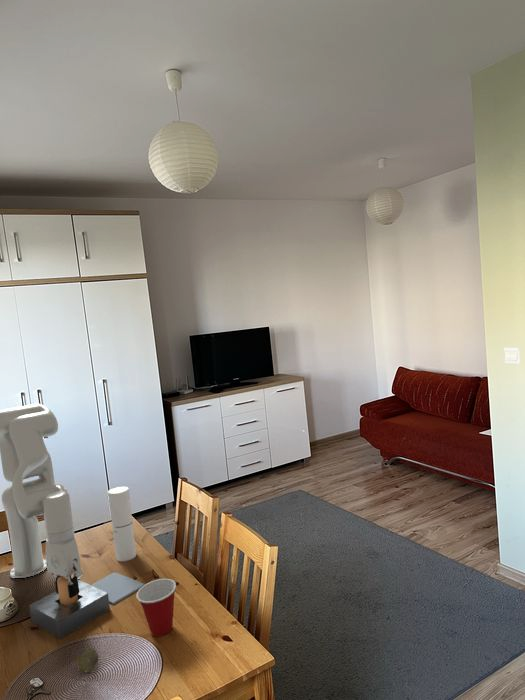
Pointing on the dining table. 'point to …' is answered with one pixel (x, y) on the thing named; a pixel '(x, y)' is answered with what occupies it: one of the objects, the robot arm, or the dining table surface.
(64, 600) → the orange rounded cylinder
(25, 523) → the robot arm
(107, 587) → the mat
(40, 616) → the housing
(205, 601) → the dining table surface
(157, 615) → the plastic cup
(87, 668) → the lime
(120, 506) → the cylindrical container
